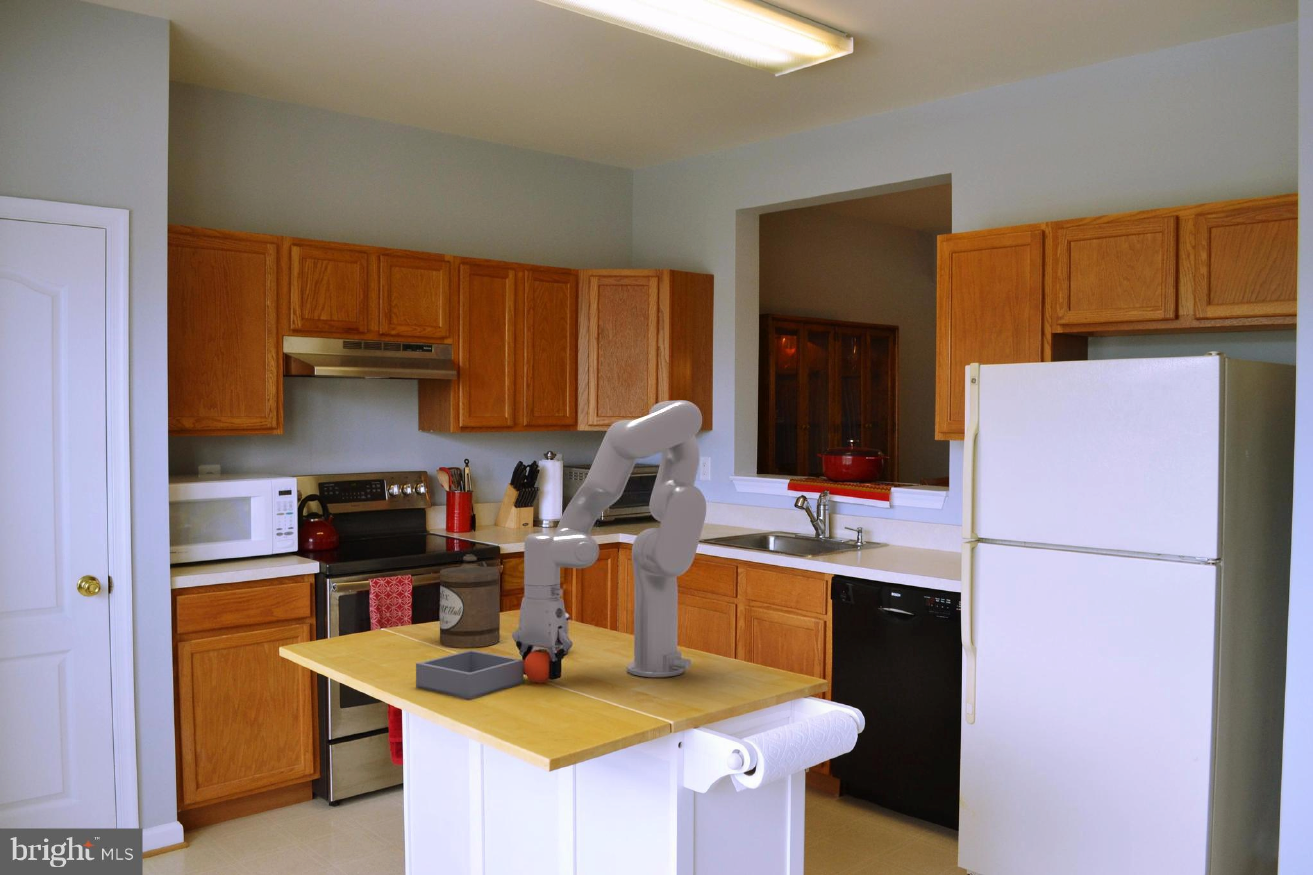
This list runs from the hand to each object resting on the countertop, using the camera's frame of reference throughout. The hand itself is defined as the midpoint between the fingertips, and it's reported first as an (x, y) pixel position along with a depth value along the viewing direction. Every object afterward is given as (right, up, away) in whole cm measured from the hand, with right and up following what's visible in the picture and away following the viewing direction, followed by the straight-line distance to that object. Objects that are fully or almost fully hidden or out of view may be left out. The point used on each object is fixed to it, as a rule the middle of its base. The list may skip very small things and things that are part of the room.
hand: (541, 675), depth 211 cm
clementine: (0, -2, 0) cm, 2 cm away
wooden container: (-22, -1, +39) cm, 45 cm away
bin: (-14, -1, -3) cm, 15 cm away
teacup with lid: (-2, -1, +28) cm, 29 cm away
